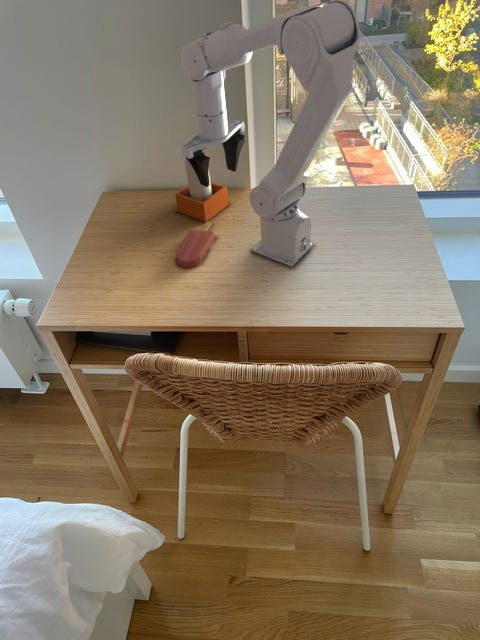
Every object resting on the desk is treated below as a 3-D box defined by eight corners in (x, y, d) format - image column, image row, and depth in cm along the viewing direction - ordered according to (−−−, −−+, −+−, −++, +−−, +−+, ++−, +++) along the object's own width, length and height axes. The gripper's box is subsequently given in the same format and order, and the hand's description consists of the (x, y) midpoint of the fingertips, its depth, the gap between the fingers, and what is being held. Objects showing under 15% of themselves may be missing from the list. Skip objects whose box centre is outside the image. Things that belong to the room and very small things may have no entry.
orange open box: (228, 204, 111) (226, 186, 108) (206, 222, 107) (203, 204, 104) (201, 194, 115) (198, 177, 112) (178, 211, 111) (174, 193, 108)
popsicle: (220, 219, 104) (196, 263, 95) (221, 226, 106) (197, 269, 96) (197, 217, 106) (171, 260, 96) (198, 223, 107) (172, 266, 97)
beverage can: (216, 208, 110) (210, 158, 101) (196, 213, 109) (188, 164, 100) (209, 197, 113) (202, 148, 104) (189, 203, 112) (181, 154, 103)
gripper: (224, 93, 95) (230, 157, 105) (166, 118, 89) (179, 185, 99) (250, 101, 92) (253, 167, 101) (191, 128, 85) (201, 197, 95)
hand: (218, 177), depth 100 cm, fingers open, 7 cm apart
